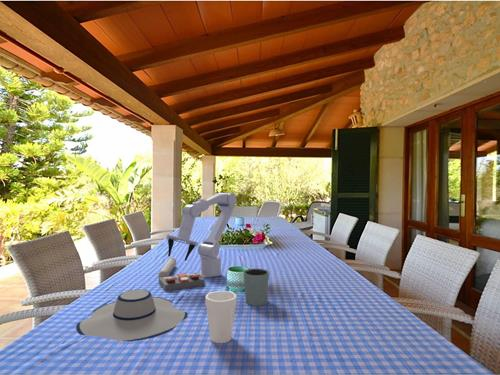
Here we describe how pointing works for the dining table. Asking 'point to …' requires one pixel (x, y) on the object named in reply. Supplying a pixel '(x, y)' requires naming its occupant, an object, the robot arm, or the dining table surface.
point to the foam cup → (220, 315)
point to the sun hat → (133, 317)
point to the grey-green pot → (256, 286)
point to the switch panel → (178, 284)
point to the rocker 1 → (183, 277)
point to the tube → (167, 268)
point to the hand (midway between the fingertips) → (177, 258)
